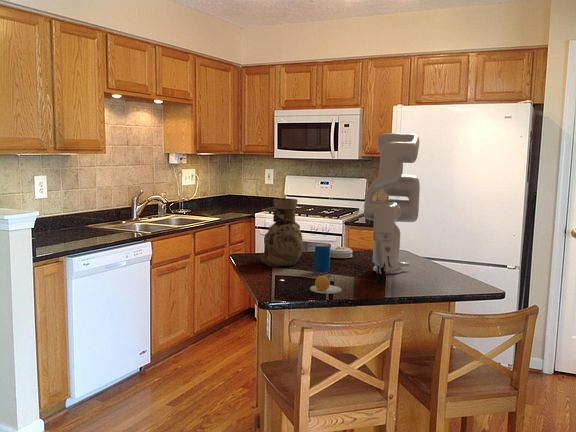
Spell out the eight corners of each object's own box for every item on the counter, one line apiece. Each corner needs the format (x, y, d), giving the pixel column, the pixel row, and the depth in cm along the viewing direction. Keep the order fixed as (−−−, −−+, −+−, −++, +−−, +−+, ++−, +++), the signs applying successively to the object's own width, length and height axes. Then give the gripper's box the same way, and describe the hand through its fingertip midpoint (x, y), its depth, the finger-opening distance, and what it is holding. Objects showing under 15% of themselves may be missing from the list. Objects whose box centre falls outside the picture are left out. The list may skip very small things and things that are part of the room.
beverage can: (328, 274, 217) (329, 246, 216) (313, 273, 218) (314, 245, 217) (330, 271, 223) (331, 244, 222) (315, 270, 225) (316, 243, 223)
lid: (339, 253, 264) (339, 244, 264) (357, 258, 255) (358, 248, 254) (321, 256, 256) (321, 246, 256) (340, 261, 247) (340, 250, 246)
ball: (312, 275, 192) (312, 289, 193) (318, 278, 187) (318, 293, 188) (325, 273, 194) (326, 287, 195) (331, 277, 189) (332, 291, 190)
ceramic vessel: (255, 268, 226) (256, 200, 222) (264, 258, 246) (266, 196, 243) (298, 270, 223) (300, 202, 219) (304, 261, 244) (306, 197, 240)
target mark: (336, 284, 200) (336, 284, 200) (345, 293, 189) (345, 292, 189) (306, 285, 198) (306, 285, 198) (314, 294, 186) (314, 293, 186)
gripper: (400, 239, 189) (398, 288, 191) (384, 233, 204) (382, 278, 206) (381, 240, 187) (379, 289, 190) (366, 233, 202) (364, 279, 204)
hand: (380, 283), depth 198 cm, fingers closed
